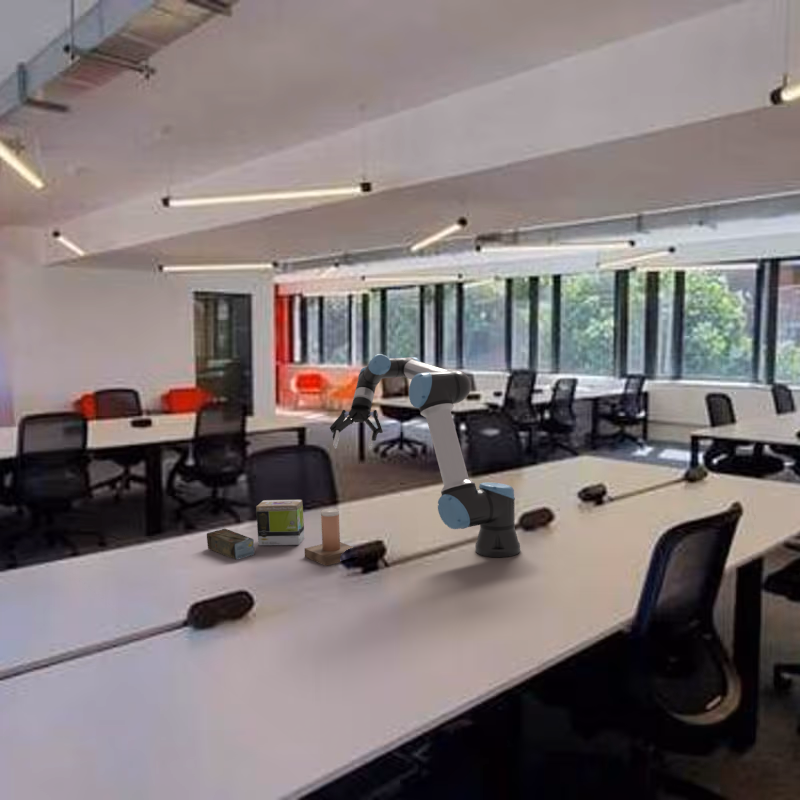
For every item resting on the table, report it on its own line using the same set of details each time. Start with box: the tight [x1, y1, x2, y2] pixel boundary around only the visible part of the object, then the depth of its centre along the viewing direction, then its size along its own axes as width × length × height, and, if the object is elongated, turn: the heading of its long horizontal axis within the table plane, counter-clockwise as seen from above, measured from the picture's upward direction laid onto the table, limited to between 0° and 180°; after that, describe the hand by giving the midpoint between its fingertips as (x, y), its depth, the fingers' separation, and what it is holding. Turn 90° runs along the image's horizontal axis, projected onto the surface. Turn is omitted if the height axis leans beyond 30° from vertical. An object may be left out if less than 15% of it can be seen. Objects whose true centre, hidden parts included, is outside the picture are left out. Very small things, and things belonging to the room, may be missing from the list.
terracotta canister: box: [320, 508, 341, 551], centre depth 262 cm, size 6×6×13 cm
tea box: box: [255, 499, 305, 546], centre depth 282 cm, size 15×10×15 cm, turn 84°
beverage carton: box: [206, 528, 255, 560], centre depth 272 cm, size 8×19×7 cm, turn 43°
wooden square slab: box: [304, 541, 354, 566], centre depth 263 cm, size 13×13×3 cm
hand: (352, 446), depth 288 cm, fingers open, 13 cm apart
